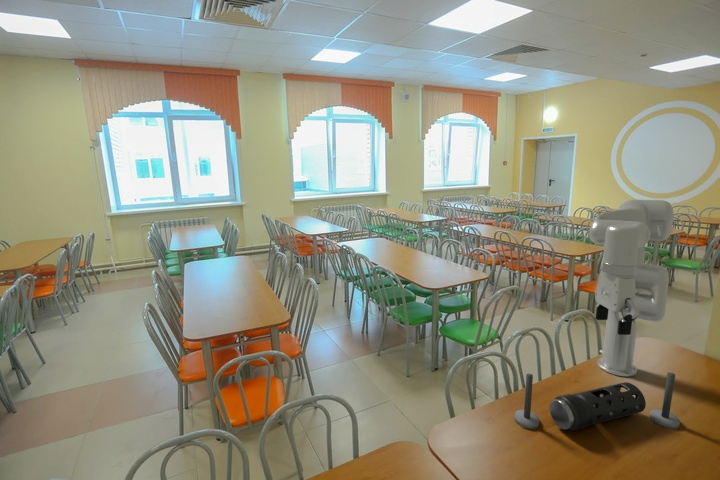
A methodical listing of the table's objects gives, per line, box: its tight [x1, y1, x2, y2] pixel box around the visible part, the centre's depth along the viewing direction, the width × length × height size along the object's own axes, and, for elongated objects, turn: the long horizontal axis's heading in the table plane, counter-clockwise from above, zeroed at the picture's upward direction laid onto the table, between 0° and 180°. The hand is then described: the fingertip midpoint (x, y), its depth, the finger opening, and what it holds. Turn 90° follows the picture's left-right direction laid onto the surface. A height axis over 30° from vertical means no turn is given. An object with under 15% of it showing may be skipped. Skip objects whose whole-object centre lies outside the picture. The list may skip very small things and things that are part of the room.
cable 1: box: [514, 373, 540, 430], centre depth 111 cm, size 7×7×16 cm
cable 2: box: [649, 372, 681, 430], centre depth 109 cm, size 7×7×16 cm
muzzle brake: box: [549, 381, 647, 431], centre depth 111 cm, size 10×28×10 cm, turn 105°
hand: (612, 326), depth 103 cm, fingers open, 9 cm apart
